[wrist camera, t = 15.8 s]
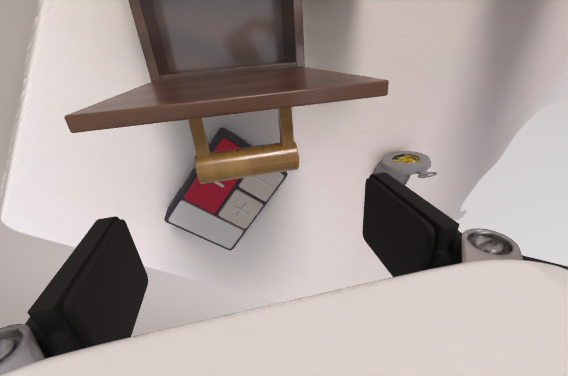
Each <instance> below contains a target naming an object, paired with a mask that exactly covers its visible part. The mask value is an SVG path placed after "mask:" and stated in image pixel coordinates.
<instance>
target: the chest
mask: <svg viewBox="0 0 568 376" xmlns="http://www.w3.org/2000/svg"><path fill="white" fill-rule="evenodd" d="M129 3H130V7H131V10H132V14H133V17H134V21H135V24H136V28H137V32H138V35H139V39H140V42H141V46H142V49H143V53H144V57H145V60H146V64H147V67H148V71H149V74H150V78H151V82H158V81H168V80H179V79H189V78H199V77H209V76H219V75H229V74H239V73H249V72H259V71H270V70H280V69H290V68H300V67H305V64H304V39H303V14H302V0H129Z"/></svg>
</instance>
